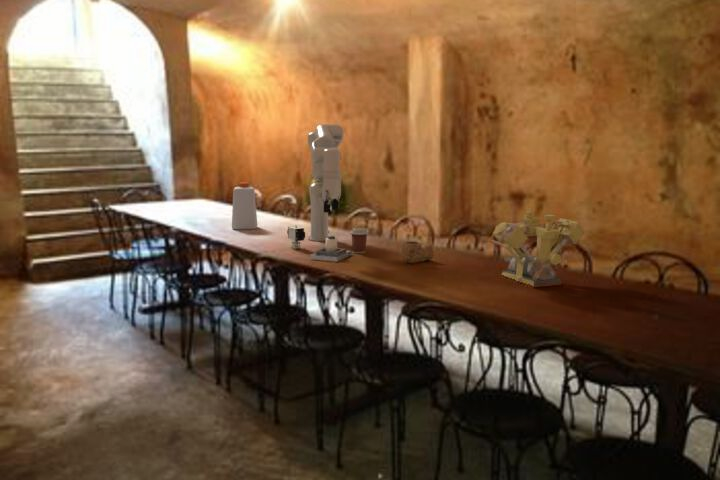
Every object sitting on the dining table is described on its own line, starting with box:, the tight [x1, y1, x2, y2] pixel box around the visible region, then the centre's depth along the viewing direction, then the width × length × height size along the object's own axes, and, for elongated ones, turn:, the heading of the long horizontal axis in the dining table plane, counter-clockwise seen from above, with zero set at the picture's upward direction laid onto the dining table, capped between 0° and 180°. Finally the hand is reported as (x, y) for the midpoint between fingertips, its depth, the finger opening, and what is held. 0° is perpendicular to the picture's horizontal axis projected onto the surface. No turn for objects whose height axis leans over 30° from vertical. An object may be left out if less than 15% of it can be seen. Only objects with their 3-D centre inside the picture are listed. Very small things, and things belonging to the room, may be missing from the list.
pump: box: [325, 235, 338, 252], centre depth 296 cm, size 6×6×8 cm
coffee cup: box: [349, 227, 369, 254], centre depth 309 cm, size 9×9×12 cm
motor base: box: [309, 247, 352, 263], centre depth 297 cm, size 18×14×4 cm
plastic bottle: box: [231, 181, 258, 231], centre depth 376 cm, size 15×15×28 cm
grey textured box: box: [402, 240, 434, 264], centre depth 287 cm, size 9×16×10 cm, turn 132°
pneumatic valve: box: [286, 224, 306, 250], centre depth 317 cm, size 6×12×12 cm, turn 33°
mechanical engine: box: [488, 207, 586, 286], centre depth 252 cm, size 39×37×30 cm
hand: (331, 211), depth 293 cm, fingers open, 9 cm apart
